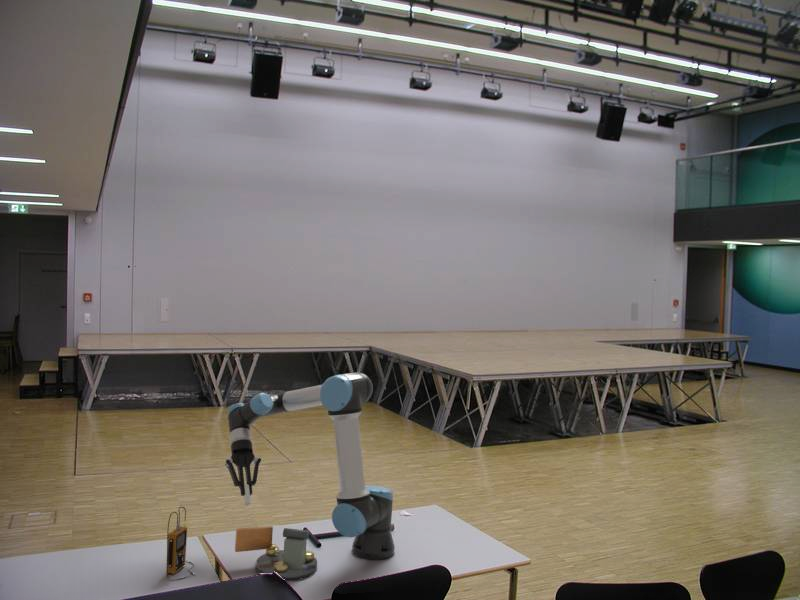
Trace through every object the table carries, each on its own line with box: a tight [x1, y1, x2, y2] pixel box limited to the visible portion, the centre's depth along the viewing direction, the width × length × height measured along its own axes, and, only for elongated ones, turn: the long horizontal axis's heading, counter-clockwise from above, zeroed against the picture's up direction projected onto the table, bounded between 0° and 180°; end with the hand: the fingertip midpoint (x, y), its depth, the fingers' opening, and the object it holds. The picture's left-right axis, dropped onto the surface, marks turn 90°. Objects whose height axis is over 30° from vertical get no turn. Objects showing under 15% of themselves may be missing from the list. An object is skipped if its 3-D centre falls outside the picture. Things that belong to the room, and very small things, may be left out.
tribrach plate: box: [255, 549, 318, 582], centre depth 233 cm, size 20×20×4 cm
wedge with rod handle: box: [282, 527, 310, 570], centre depth 230 cm, size 8×6×12 cm
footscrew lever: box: [234, 525, 280, 557], centre depth 235 cm, size 15×4×10 cm, turn 114°
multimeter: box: [166, 506, 188, 578], centre depth 225 cm, size 15×10×20 cm
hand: (247, 503), depth 243 cm, fingers closed
